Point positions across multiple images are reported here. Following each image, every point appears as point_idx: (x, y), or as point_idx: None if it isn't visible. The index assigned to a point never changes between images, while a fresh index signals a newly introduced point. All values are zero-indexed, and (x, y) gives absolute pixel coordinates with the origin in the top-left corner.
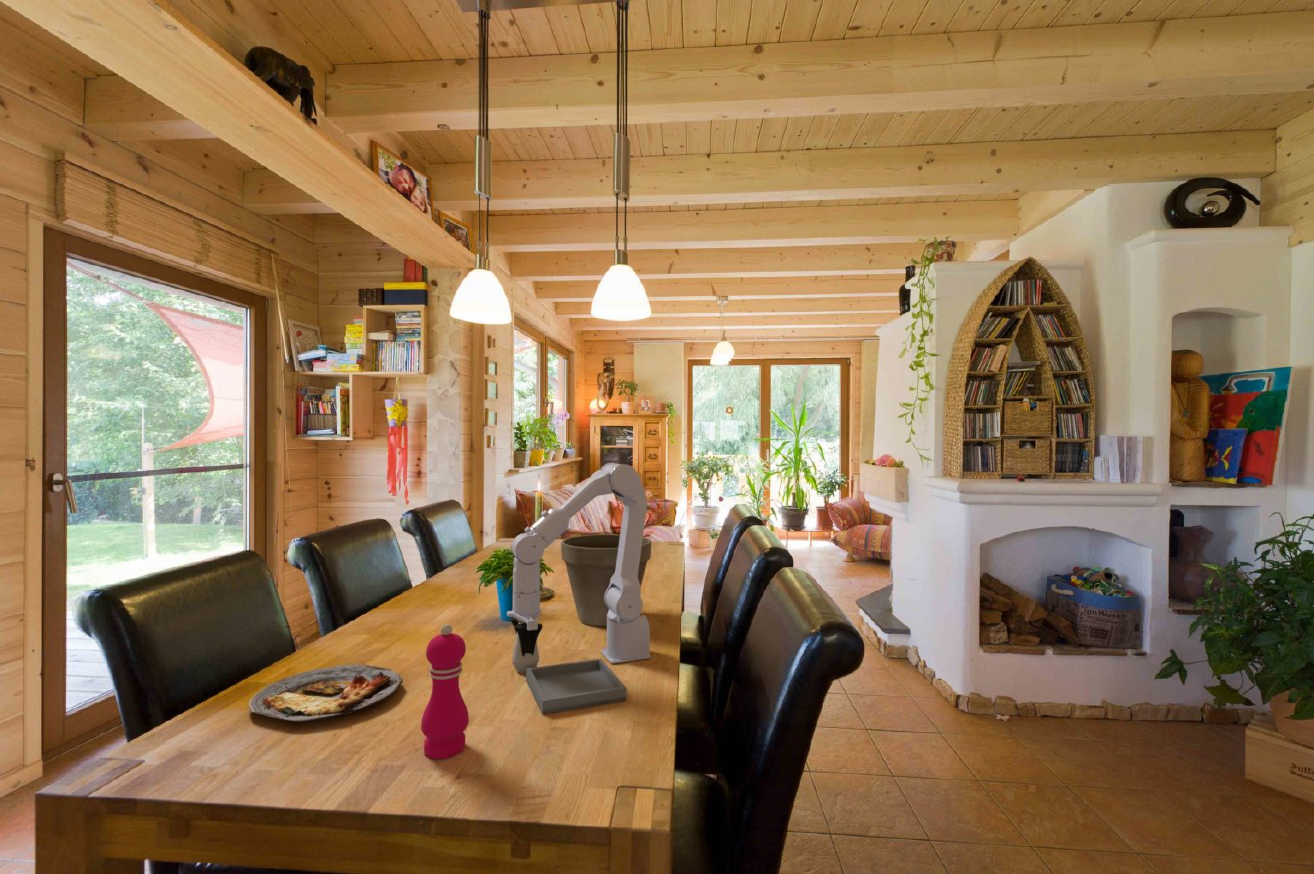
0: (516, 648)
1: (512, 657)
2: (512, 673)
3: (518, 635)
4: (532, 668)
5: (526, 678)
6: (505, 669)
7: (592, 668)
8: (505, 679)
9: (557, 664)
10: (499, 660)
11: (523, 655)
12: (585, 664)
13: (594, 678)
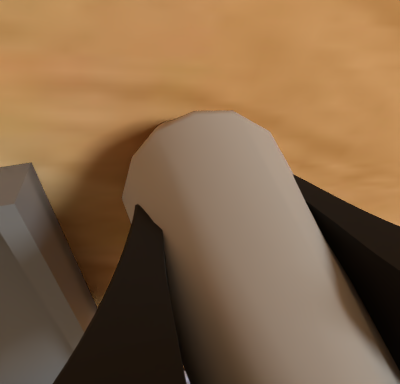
0: (188, 193)
1: (205, 124)
2: (155, 91)
3: (156, 335)
4: (18, 235)
5: (11, 174)
6: (228, 51)
7: None
8: (61, 42)
9: (76, 321)
10: (375, 21)
11: (134, 213)
12: None
13: (10, 379)
